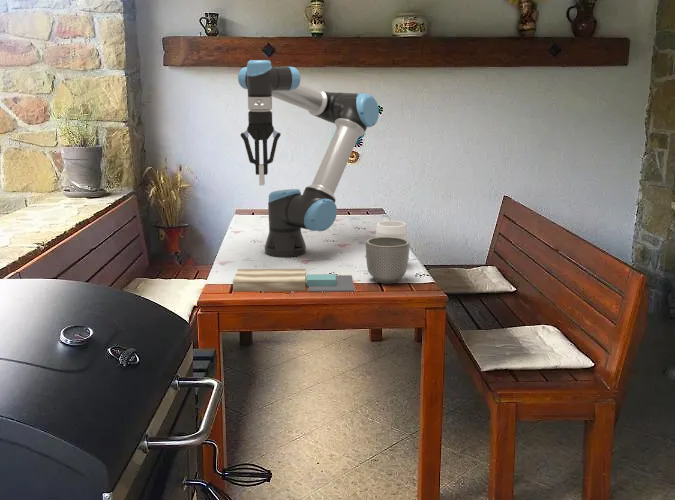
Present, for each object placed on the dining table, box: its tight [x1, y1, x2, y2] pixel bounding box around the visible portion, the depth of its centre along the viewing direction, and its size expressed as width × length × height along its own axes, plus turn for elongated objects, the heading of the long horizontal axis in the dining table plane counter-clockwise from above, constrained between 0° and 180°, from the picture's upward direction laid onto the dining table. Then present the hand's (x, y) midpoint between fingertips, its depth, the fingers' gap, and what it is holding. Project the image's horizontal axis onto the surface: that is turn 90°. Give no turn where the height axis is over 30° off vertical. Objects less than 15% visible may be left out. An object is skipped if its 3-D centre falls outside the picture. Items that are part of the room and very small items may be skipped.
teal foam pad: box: [306, 273, 336, 287], centre depth 225 cm, size 9×6×2 cm, turn 91°
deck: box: [232, 268, 307, 292], centre depth 225 cm, size 14×22×3 cm, turn 92°
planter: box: [365, 236, 411, 285], centre depth 228 cm, size 14×14×13 cm
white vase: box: [375, 220, 408, 240], centre depth 244 cm, size 11×11×15 cm
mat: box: [307, 274, 355, 293], centre depth 226 cm, size 16×14×1 cm
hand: (262, 184), depth 232 cm, fingers closed
